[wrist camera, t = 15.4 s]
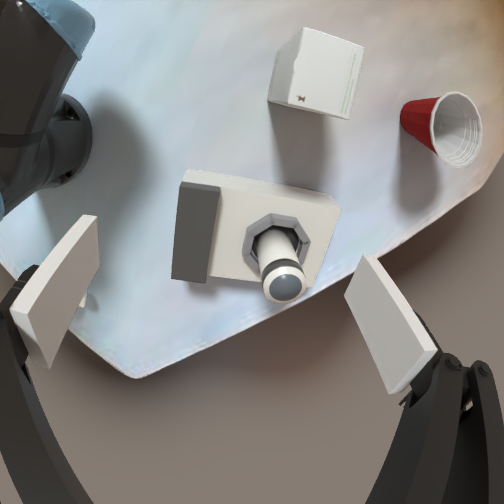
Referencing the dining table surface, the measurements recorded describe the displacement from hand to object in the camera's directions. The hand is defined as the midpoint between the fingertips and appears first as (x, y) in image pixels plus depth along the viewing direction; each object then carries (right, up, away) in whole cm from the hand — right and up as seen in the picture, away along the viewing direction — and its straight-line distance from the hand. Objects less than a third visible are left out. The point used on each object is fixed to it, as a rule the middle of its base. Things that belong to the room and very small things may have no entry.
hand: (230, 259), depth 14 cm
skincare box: (+7, +24, +22) cm, 34 cm away
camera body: (+1, +5, +33) cm, 34 cm away
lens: (+4, +1, +28) cm, 29 cm away
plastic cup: (+27, +22, +25) cm, 43 cm away
